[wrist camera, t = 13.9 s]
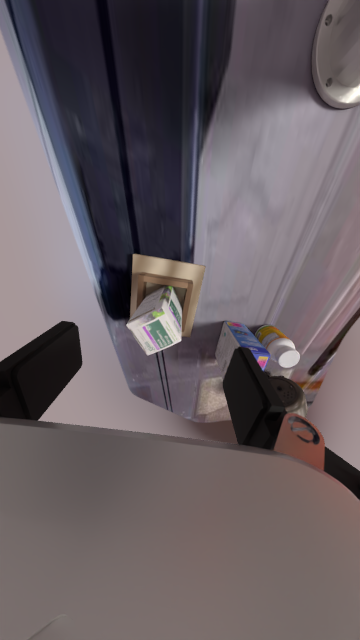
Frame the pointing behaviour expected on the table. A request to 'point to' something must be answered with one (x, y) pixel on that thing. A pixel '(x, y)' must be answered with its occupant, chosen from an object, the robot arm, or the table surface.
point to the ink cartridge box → (234, 338)
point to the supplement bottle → (278, 346)
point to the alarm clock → (289, 395)
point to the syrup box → (157, 320)
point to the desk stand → (167, 272)
